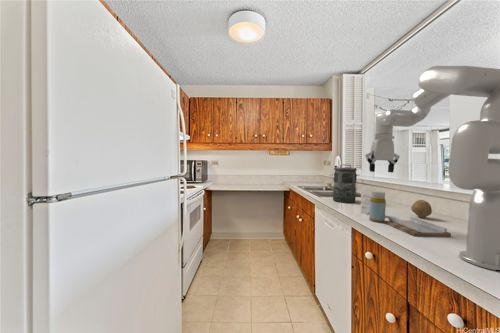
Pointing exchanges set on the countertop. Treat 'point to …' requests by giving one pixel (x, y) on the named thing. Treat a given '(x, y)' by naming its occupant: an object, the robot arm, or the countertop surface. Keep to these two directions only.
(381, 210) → the bottle
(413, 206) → the natural sponge
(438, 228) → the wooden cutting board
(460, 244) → the countertop surface
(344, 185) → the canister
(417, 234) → the walnut board
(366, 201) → the ink cartridge box
